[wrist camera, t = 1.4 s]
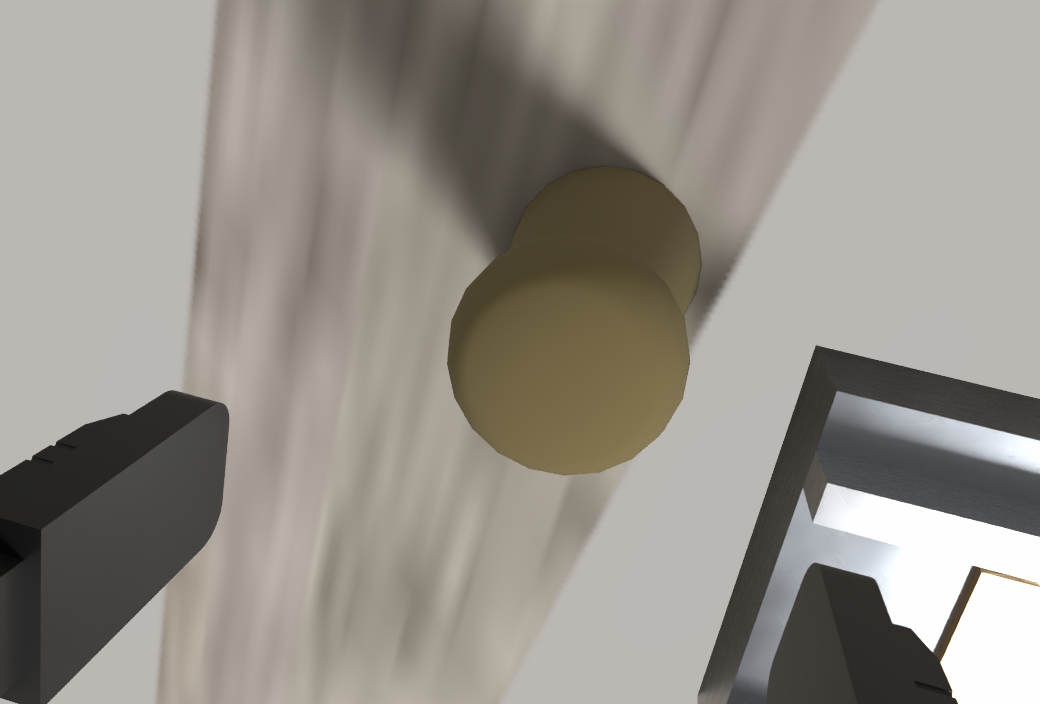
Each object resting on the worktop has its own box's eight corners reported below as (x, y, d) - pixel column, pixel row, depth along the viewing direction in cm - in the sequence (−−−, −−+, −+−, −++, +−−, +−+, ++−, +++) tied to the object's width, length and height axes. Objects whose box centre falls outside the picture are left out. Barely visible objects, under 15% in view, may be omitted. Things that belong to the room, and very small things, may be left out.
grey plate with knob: (816, 345, 27) (850, 420, 21) (1219, 442, 26) (1368, 548, 20) (697, 695, 32) (700, 831, 26) (1032, 791, 31) (1110, 955, 25)
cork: (546, 374, 29) (469, 546, 19) (484, 201, 27) (364, 285, 17) (725, 324, 27) (749, 483, 17) (669, 138, 26) (659, 188, 16)
